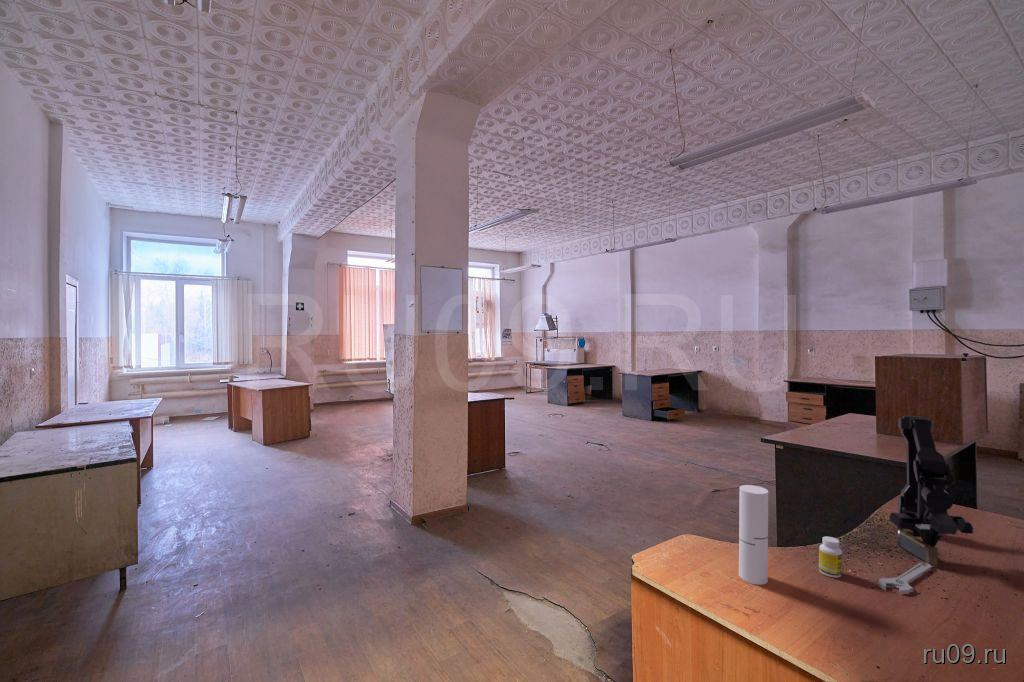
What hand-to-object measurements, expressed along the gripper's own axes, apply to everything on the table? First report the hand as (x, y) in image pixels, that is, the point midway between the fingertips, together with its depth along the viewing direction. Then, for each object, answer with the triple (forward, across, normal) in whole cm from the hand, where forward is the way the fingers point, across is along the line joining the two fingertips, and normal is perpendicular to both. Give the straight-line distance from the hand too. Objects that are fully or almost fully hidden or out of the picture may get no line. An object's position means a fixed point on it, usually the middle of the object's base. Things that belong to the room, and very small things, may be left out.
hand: (929, 550), depth 139 cm
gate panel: (+2, -3, +2) cm, 4 cm away
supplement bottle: (+3, -33, -15) cm, 37 cm away
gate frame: (+3, -2, +1) cm, 4 cm away
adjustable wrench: (+3, -13, -15) cm, 20 cm away
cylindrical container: (+3, -55, -23) cm, 60 cm away
